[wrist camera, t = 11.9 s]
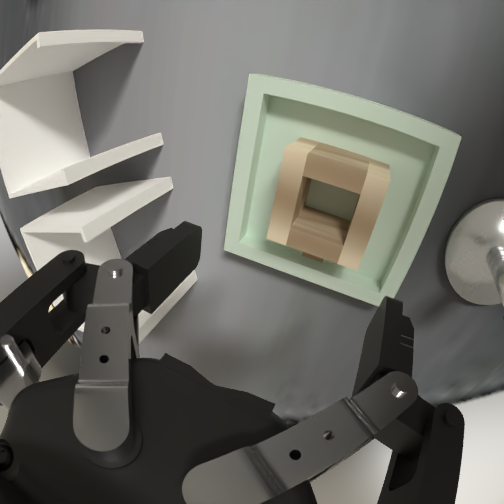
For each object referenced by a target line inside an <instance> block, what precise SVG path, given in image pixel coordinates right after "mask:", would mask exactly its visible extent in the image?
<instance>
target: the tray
mask: <svg viewBox="0 0 504 504" xmlns="http://www.w3.org/2000/svg"><path fill="white" fill-rule="evenodd" d="M300 137H303V138H307V139H311V140H314V141H318V142H321V143H325V144H328V145H331V146H335V147H338V148H341V149H344V150H348V151H351V152H354V153H357V154H360V155H363V156H366V157H369V158H372V159H375V160H378V161H381V162H383V163H386V164H389V167H390V183H389V186H388V189H387V192H386V195H385V198H384V201H383V204H382V207H381V210H380V212H379V215H378V218H377V221H376V223H375V226H374V229H373V231H372V234H371V237H370V239H369V242H368V245H367V247H366V250H365V252H364V255H363V257H362V260H361V262H360V265H359V267H358V270H357V271H356V270H353V269H350V268H348V267H345V266H342V265H339V264H336V263H334V262H331V261H328V260H325V259H324V260H323V262H322V263H321V262H319V261H316V260H313V259H310V258H307V257H305V256H302V254H303V252H302V251H300V250H297V249H294V248H291V247H288V246H285V245H282V244H280V243H277V242H274V241H271V240H268V239H266V238H267V233H268V228H269V223H270V218H271V213H272V208H273V203H274V198H275V194H276V189H277V184H278V179H279V174H280V169H281V164H282V159H283V154H284V148H285V147H286V146H288V145H289V144H291V143H292V142H294V141H295V140H297V139H299V138H300ZM461 138H462V137H461V136H460V135H458V134H457V133H455V132H453V131H451V130H448V129H446V128H444V127H442V126H439V125H437V124H434V123H432V122H429V121H427V120H424V119H422V118H419V117H417V116H414V115H411V114H409V113H406V112H403V111H400V110H398V109H395V108H392V107H389V106H386V105H383V104H380V103H377V102H374V101H371V100H368V99H364V98H361V97H358V96H354V95H351V94H347V93H344V92H340V91H336V90H332V89H329V88H325V87H321V86H317V85H312V84H308V83H304V82H299V81H294V80H290V79H285V78H280V77H274V76H269V75H263V74H249V80H248V86H247V92H246V98H245V105H244V111H243V117H242V124H241V130H240V137H239V144H238V150H237V157H236V164H235V171H234V178H233V185H232V192H231V200H230V207H229V214H228V222H227V229H226V237H225V245H224V250H226V251H228V252H231V253H234V254H236V255H239V256H242V257H244V258H247V259H250V260H253V261H255V262H258V263H261V264H263V265H266V266H269V267H272V268H274V269H277V270H280V271H282V272H285V273H288V274H291V275H293V276H296V277H299V278H302V279H304V280H307V281H310V282H312V283H315V284H318V285H321V286H323V287H326V288H329V289H332V290H334V291H337V292H340V293H343V294H345V295H348V296H351V297H354V298H356V299H359V300H362V301H365V302H367V303H370V304H373V305H376V306H379V305H380V304H381V302H382V300H383V298H384V297H385V296H388V297H391V298H394V297H395V295H396V293H397V291H398V289H399V287H400V285H401V283H402V282H403V280H404V278H405V276H406V274H407V272H408V270H409V268H410V265H411V263H412V261H413V259H414V257H415V255H416V253H417V251H418V249H419V247H420V244H421V242H422V240H423V238H424V235H425V233H426V231H427V229H428V226H429V224H430V222H431V219H432V217H433V215H434V212H435V210H436V207H437V205H438V202H439V200H440V197H441V195H442V192H443V190H444V187H445V184H446V182H447V179H448V176H449V173H450V171H451V168H452V165H453V162H454V159H455V156H456V153H457V150H458V147H459V144H460V141H461ZM358 197H359V194H357V193H355V192H352V191H349V190H346V189H343V188H340V187H337V186H334V185H330V184H327V183H324V182H321V181H318V180H315V179H311V183H310V187H309V191H308V195H307V199H306V203H305V206H308V207H311V208H314V209H317V210H320V211H323V212H326V213H329V214H332V215H335V216H338V217H341V218H344V219H347V220H349V221H351V218H352V215H353V212H354V209H355V206H356V203H357V200H358Z"/></svg>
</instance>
